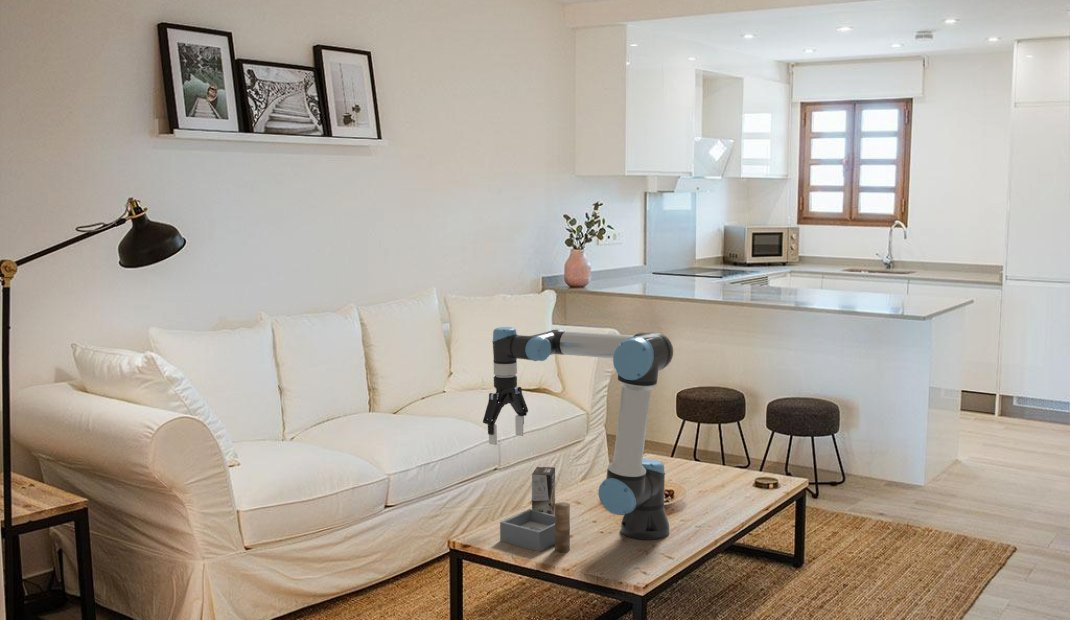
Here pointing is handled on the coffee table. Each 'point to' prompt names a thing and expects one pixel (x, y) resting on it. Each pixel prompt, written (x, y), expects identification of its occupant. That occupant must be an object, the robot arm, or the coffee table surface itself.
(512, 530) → the bin
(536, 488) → the coffee box
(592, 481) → the coffee table surface
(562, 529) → the peg
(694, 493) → the coffee table surface
